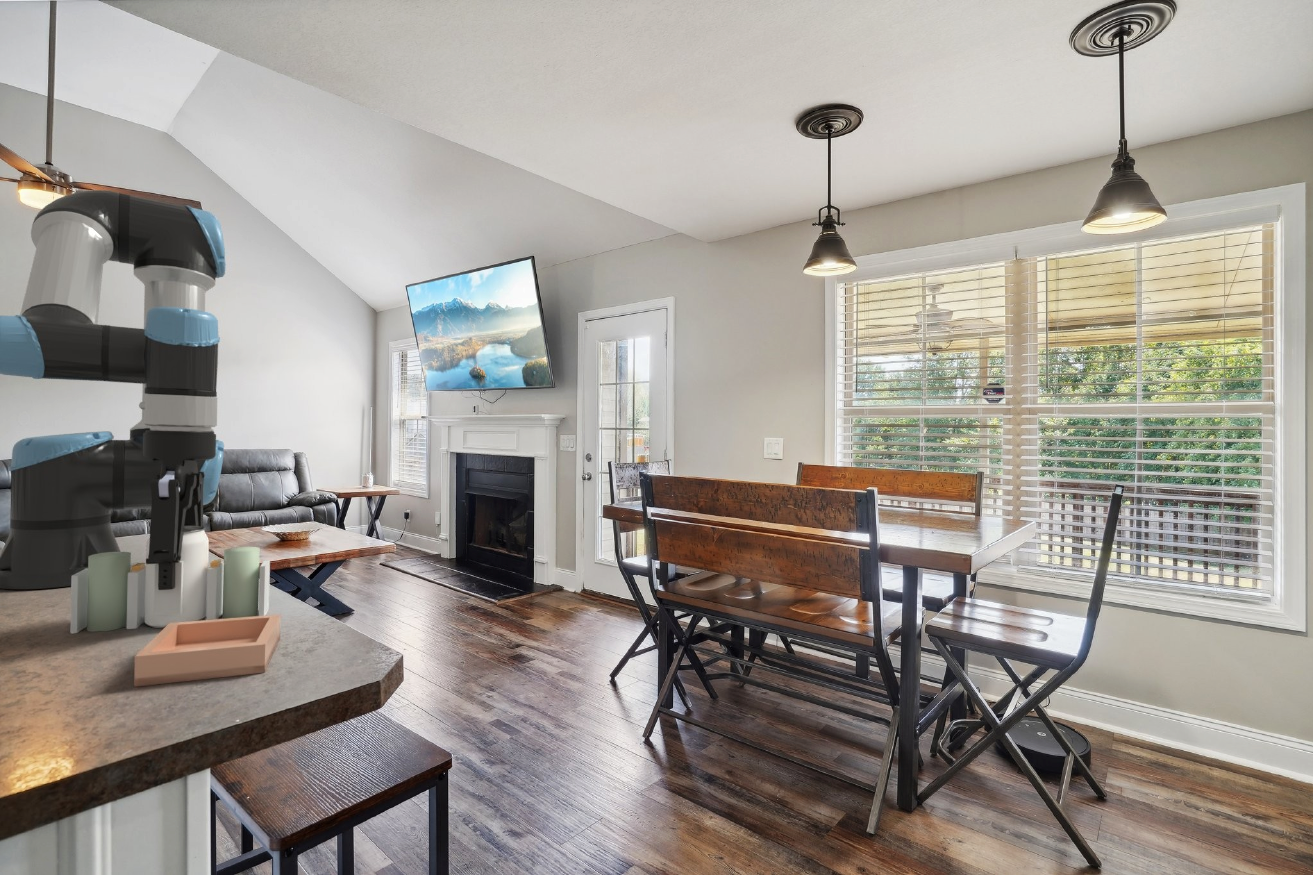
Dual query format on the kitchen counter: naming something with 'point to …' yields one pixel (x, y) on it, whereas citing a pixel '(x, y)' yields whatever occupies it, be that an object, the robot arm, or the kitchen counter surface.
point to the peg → (107, 590)
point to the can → (193, 580)
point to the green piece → (241, 582)
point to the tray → (208, 650)
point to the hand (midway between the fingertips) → (176, 605)
